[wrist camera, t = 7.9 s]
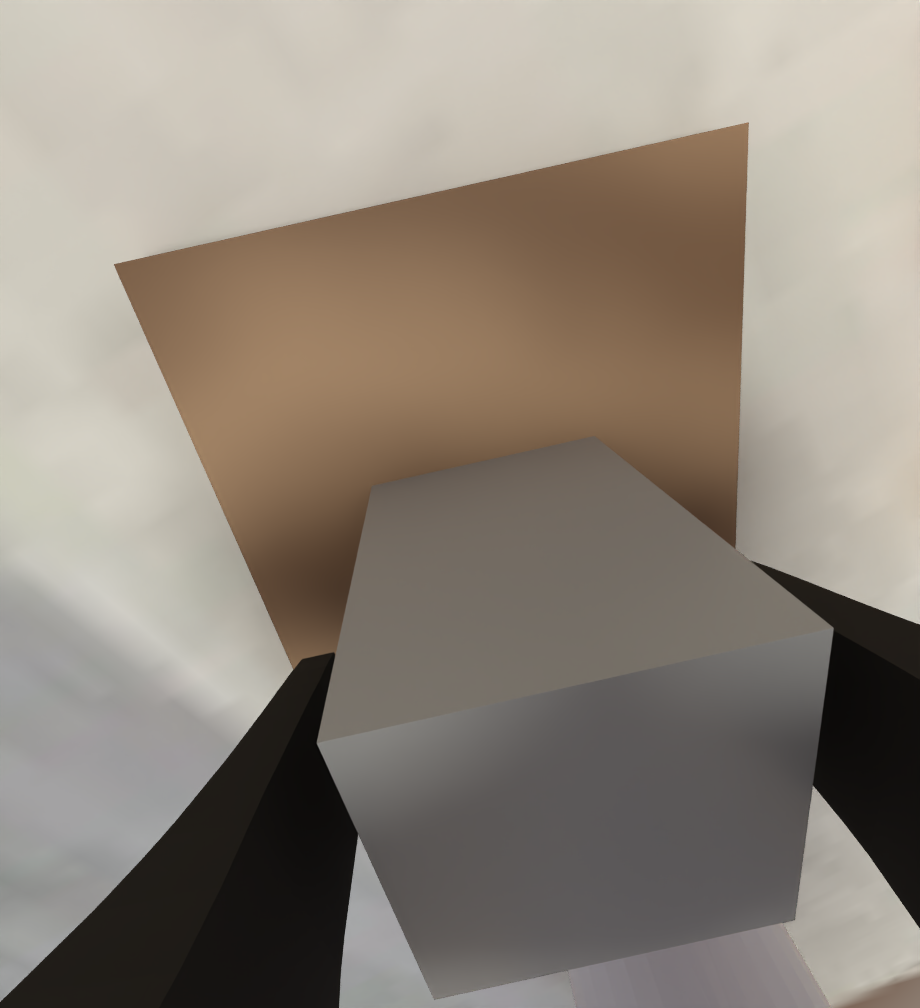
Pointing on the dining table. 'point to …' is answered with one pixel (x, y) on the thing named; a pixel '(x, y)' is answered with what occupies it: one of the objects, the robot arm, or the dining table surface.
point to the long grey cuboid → (569, 719)
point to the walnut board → (457, 350)
